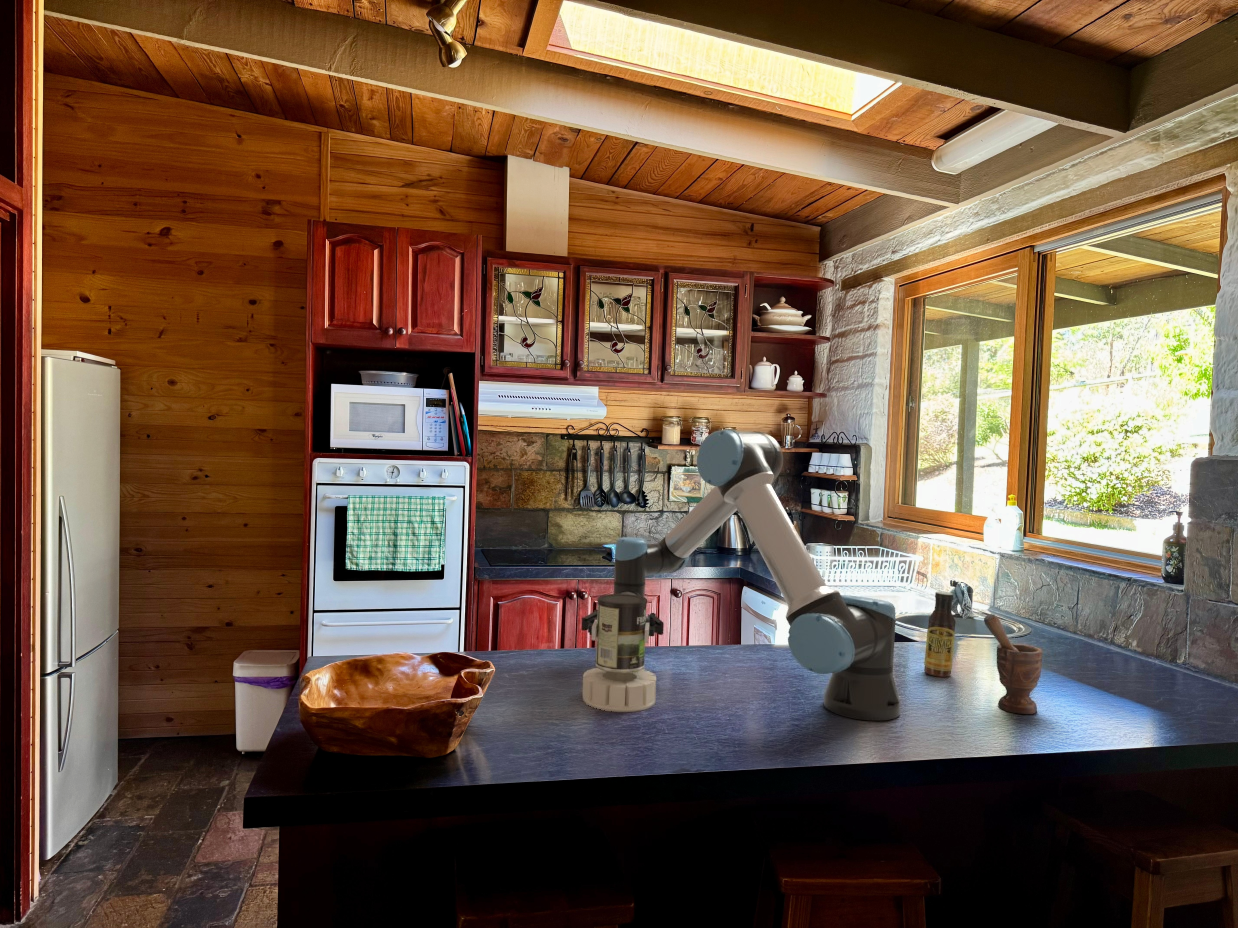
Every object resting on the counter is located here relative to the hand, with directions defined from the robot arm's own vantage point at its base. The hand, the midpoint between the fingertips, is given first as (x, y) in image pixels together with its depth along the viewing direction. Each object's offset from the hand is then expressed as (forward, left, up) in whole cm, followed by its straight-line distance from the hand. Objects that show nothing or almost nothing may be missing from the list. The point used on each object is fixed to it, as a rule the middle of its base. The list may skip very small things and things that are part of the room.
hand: (619, 634), depth 165 cm
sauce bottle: (-75, -37, -15) cm, 85 cm away
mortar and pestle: (-82, -12, -15) cm, 84 cm away
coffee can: (0, -4, -8) cm, 9 cm away
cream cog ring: (0, -4, -15) cm, 15 cm away
